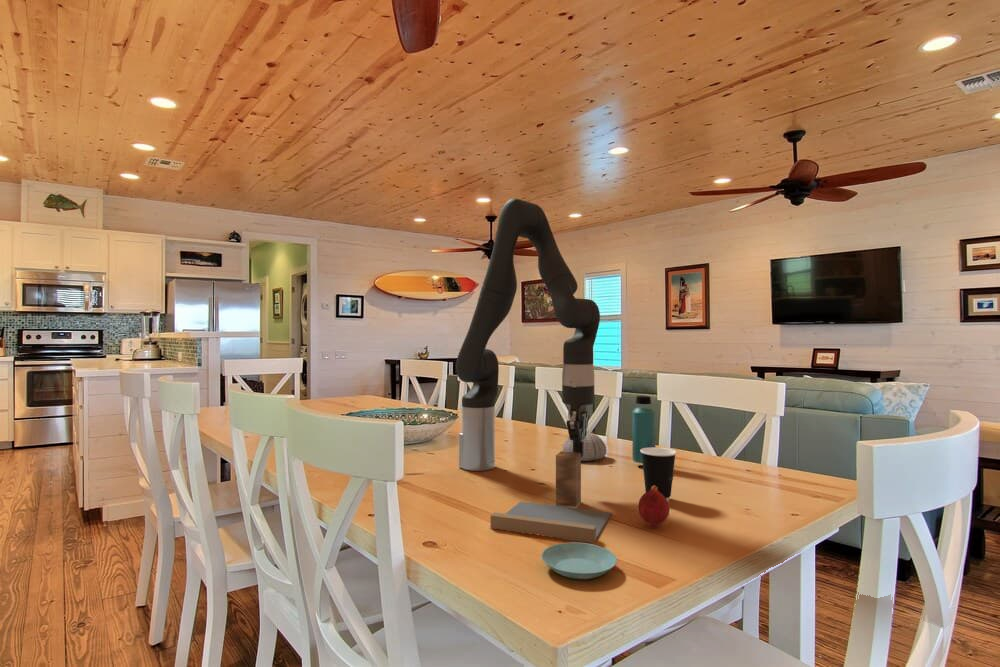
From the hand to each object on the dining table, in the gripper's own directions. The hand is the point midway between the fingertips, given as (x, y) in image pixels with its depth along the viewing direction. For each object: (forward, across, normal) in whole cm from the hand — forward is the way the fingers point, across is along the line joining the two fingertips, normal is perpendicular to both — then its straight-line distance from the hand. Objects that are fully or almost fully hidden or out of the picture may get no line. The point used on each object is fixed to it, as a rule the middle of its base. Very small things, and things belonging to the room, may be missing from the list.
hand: (578, 457), depth 128 cm
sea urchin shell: (+9, -38, -7) cm, 39 cm away
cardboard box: (+9, +9, 0) cm, 12 cm away
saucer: (+9, +41, +10) cm, 43 cm away
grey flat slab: (+9, +20, 0) cm, 21 cm away
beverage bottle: (+9, -33, +11) cm, 36 cm away
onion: (+9, +17, +19) cm, 27 cm away
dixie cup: (+9, -2, +18) cm, 20 cm away
